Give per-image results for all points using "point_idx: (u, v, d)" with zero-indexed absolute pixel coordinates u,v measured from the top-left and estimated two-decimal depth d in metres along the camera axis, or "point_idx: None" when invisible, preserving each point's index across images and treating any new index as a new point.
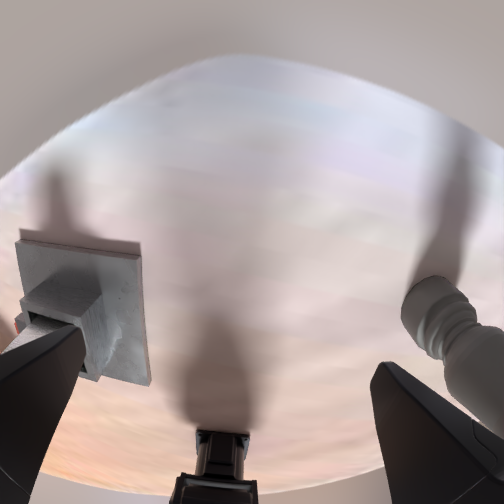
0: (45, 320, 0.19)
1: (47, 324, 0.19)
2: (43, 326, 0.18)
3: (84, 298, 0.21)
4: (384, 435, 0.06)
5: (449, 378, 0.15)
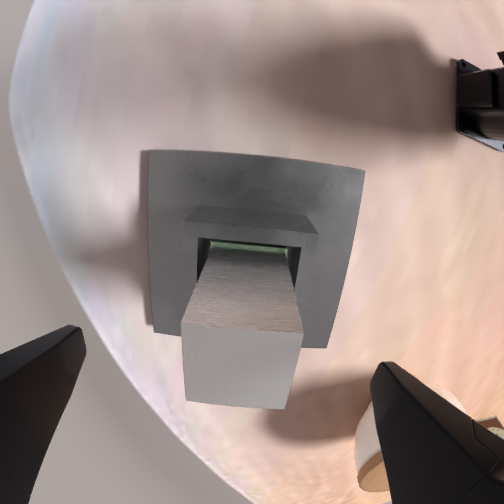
0: None
1: None
2: None
3: None
4: (384, 435, 0.06)
5: None
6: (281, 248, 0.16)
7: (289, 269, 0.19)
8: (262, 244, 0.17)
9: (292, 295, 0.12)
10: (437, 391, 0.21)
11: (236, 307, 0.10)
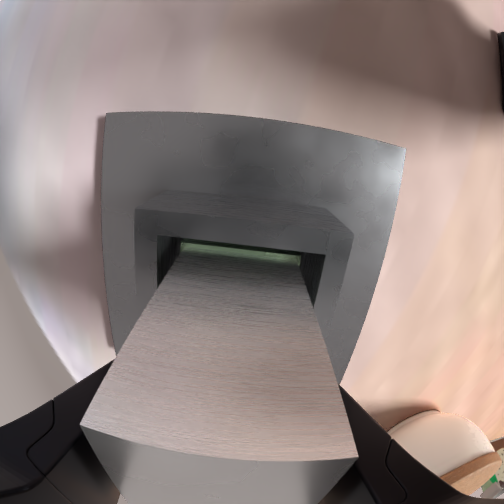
0: None
1: None
2: None
3: None
4: None
5: None
6: (291, 255, 0.10)
7: None
8: (261, 248, 0.11)
9: (322, 351, 0.06)
10: (464, 426, 0.15)
11: (207, 389, 0.04)
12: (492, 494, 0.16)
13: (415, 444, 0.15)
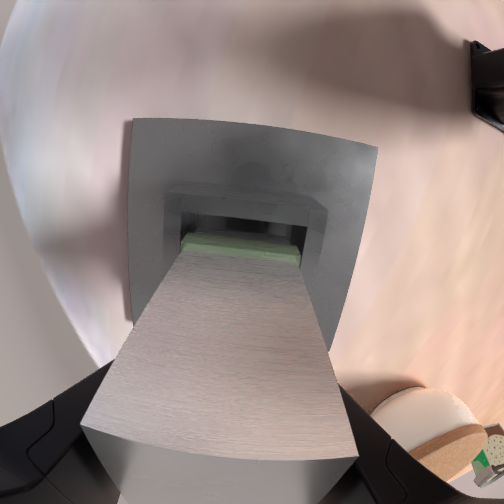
0: None
1: None
2: None
3: None
4: None
5: None
6: (291, 255, 0.10)
7: None
8: (261, 248, 0.11)
9: (322, 351, 0.06)
10: (448, 399, 0.18)
11: (207, 388, 0.04)
12: (485, 478, 0.19)
13: (402, 414, 0.19)
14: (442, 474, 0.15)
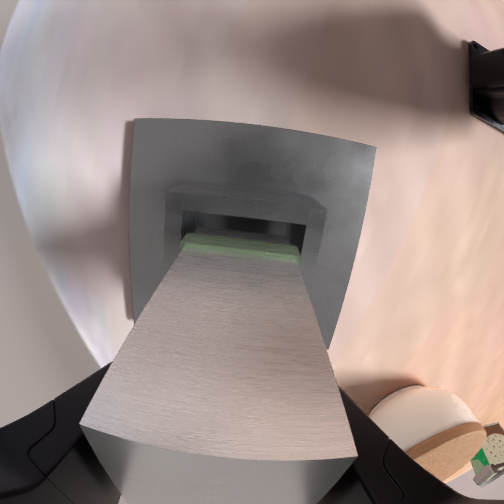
0: None
1: None
2: None
3: None
4: None
5: None
6: (290, 255, 0.10)
7: None
8: (261, 248, 0.11)
9: (321, 351, 0.06)
10: (447, 397, 0.18)
11: (206, 388, 0.04)
12: (484, 477, 0.20)
13: (401, 412, 0.19)
14: (441, 472, 0.16)
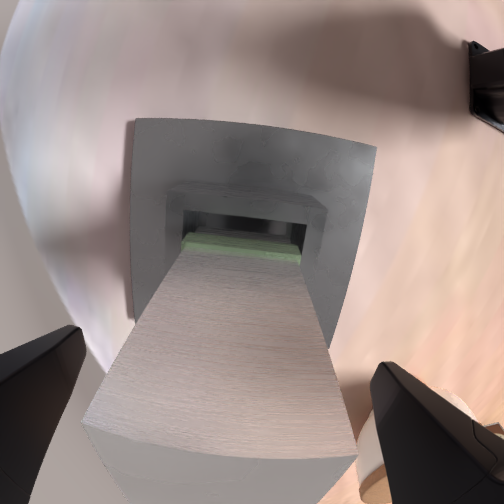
0: None
1: None
2: None
3: None
4: (384, 435, 0.06)
5: None
6: (291, 254, 0.10)
7: None
8: (262, 247, 0.11)
9: (322, 350, 0.06)
10: (447, 396, 0.18)
11: (208, 387, 0.04)
12: None
13: None
14: None
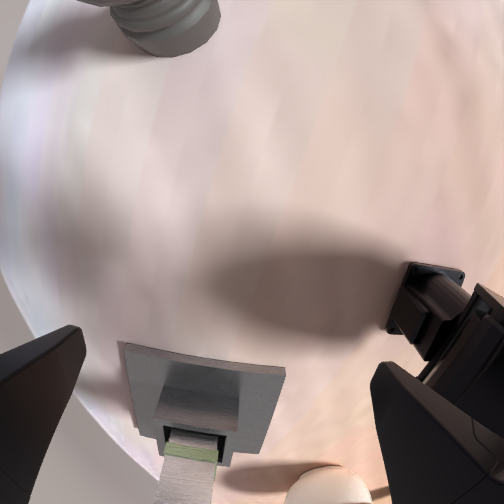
0: None
1: None
2: None
3: None
4: (384, 435, 0.06)
5: None
6: (212, 461, 0.18)
7: None
8: (199, 456, 0.19)
9: None
10: (345, 482, 0.26)
11: None
12: None
13: (310, 487, 0.27)
14: None
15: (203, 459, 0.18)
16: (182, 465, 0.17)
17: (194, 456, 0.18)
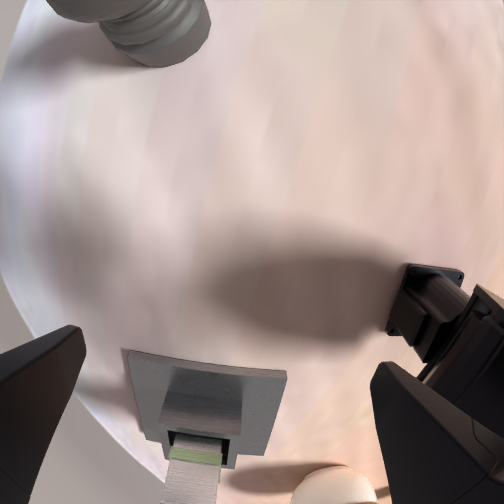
0: None
1: None
2: None
3: None
4: (384, 435, 0.06)
5: (113, 10, 0.07)
6: (216, 464, 0.19)
7: None
8: (204, 459, 0.19)
9: None
10: (350, 482, 0.26)
11: None
12: None
13: (315, 487, 0.27)
14: None
15: (207, 462, 0.19)
16: (187, 469, 0.18)
17: (198, 460, 0.19)
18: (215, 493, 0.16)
